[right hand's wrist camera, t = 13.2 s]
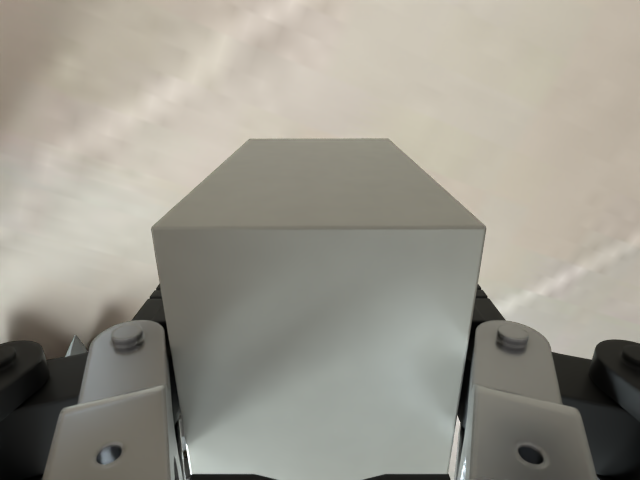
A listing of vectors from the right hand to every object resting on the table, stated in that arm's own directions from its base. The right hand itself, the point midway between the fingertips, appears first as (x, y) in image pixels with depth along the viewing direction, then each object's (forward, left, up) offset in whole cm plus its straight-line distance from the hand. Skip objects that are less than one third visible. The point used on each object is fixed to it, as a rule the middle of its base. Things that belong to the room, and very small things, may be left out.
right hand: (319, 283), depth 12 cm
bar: (+9, 0, -5) cm, 11 cm away
